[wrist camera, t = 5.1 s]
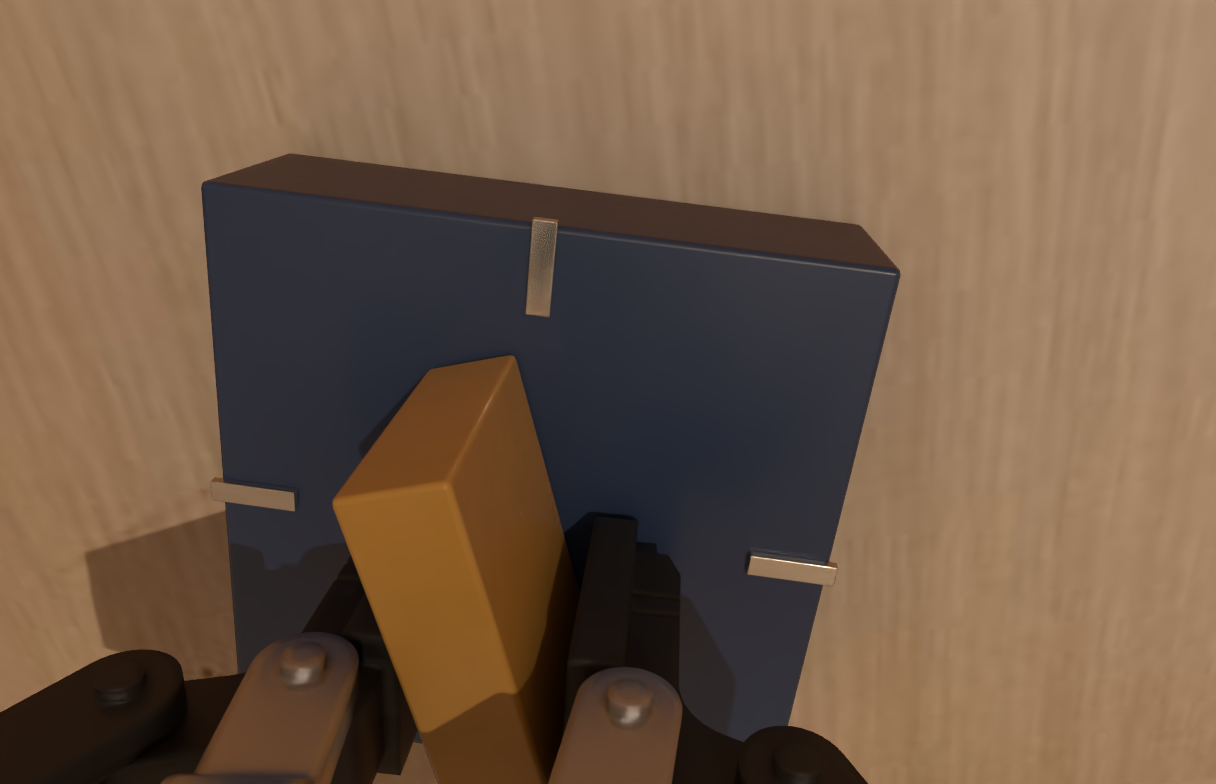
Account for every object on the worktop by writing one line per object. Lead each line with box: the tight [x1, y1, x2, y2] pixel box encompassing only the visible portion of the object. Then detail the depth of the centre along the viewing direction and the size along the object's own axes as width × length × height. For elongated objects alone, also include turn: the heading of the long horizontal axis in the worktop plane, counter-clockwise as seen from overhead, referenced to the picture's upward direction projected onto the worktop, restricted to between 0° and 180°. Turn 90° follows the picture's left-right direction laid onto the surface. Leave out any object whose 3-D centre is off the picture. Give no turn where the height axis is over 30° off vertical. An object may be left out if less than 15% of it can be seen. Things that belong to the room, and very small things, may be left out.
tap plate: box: [201, 154, 900, 743], centre depth 15 cm, size 10×10×3 cm
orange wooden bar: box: [333, 355, 580, 784], centre depth 12 cm, size 6×1×4 cm, turn 12°
